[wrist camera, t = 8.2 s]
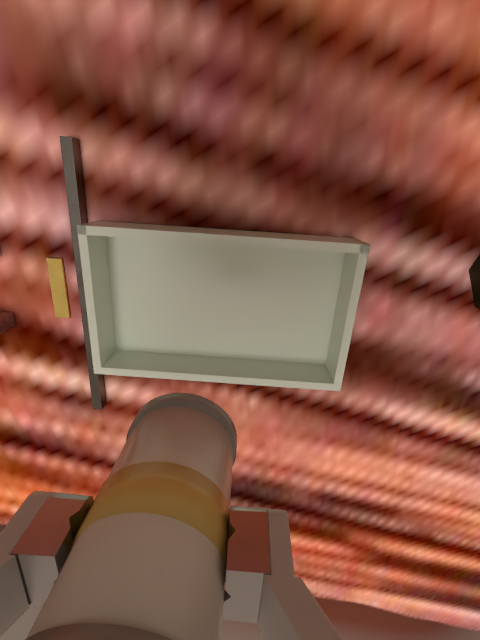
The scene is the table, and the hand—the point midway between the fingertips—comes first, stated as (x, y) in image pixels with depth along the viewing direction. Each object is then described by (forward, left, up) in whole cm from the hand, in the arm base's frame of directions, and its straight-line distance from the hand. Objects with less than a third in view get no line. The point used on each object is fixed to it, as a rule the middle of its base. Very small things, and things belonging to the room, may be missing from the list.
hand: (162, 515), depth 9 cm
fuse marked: (0, 0, -3) cm, 3 cm away
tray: (0, 0, -19) cm, 19 cm away
